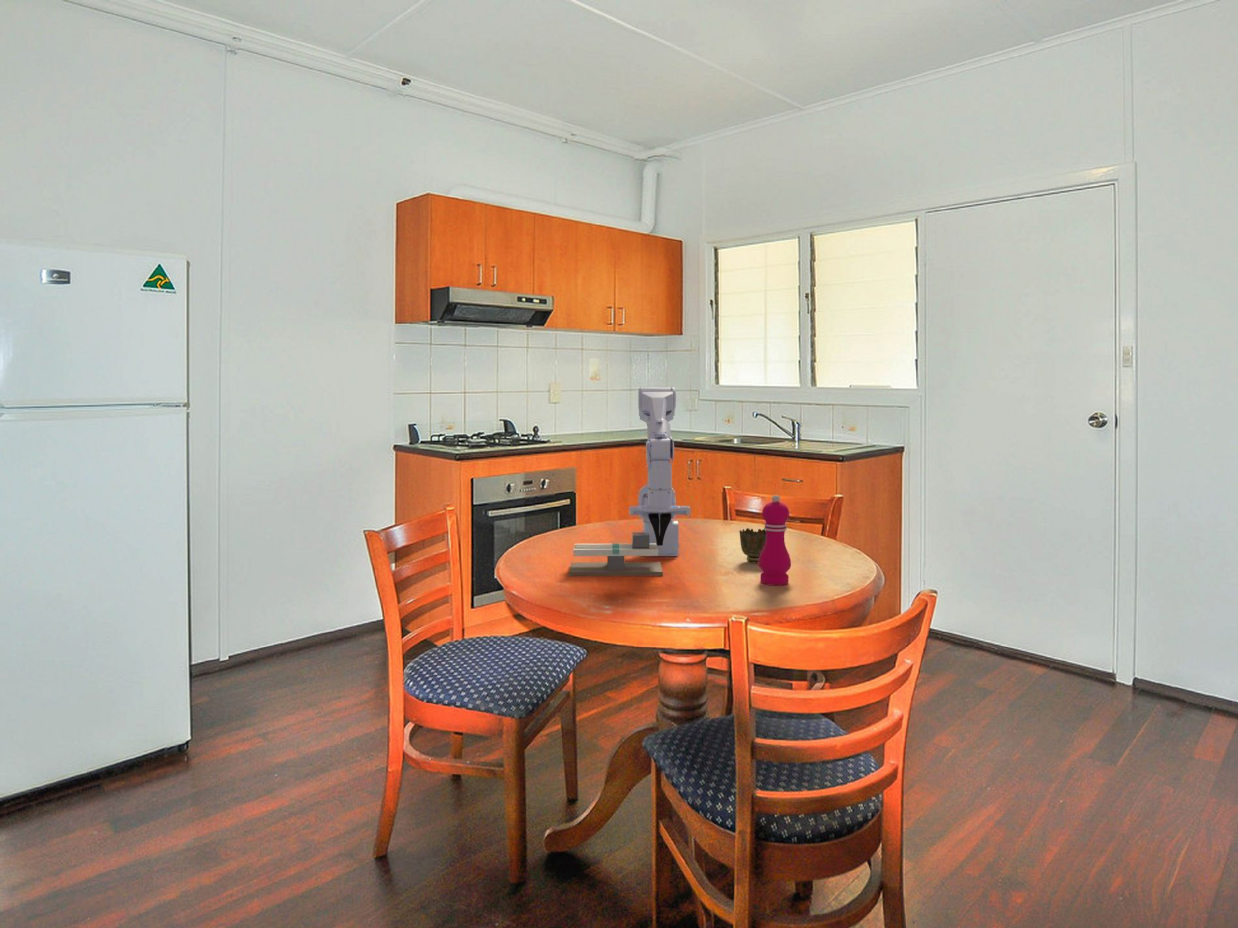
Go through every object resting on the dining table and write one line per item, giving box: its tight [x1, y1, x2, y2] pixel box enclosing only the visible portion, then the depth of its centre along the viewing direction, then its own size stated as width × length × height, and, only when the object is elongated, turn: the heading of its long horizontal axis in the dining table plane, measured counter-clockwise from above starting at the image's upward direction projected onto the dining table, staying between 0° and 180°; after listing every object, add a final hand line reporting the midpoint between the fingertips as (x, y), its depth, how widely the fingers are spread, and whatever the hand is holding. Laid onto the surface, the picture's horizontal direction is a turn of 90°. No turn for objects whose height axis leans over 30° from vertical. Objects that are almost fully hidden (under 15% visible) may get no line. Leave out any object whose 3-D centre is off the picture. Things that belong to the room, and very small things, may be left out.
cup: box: [739, 527, 766, 564], centre depth 197 cm, size 8×7×8 cm
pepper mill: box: [758, 494, 792, 586], centre depth 177 cm, size 7×7×20 cm
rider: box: [631, 531, 649, 549], centre depth 188 cm, size 4×4×4 cm
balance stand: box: [568, 542, 664, 577], centre depth 188 cm, size 22×10×6 cm, turn 91°
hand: (659, 544), depth 188 cm, fingers closed
